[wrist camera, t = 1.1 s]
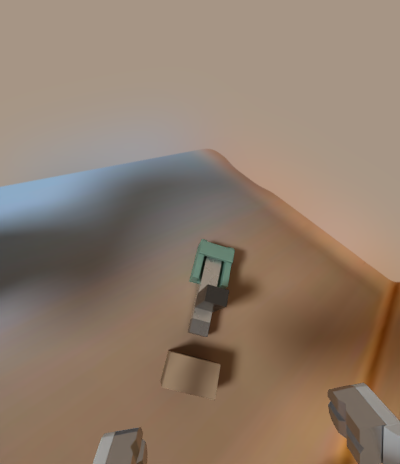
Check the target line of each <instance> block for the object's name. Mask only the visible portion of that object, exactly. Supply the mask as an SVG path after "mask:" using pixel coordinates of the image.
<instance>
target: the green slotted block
mask: <svg viewBox="0 0 400 464" xmlns="http://www.w3.org/2000/svg"><path fill="white" fill-rule="evenodd" d="M234 252H235V250H234V249H233V248H230V247H228V248H227V247H223V246H220V245H217V244H213V243H210V242H207V240H204V239H202V240H201V242H200V244H199V246H198V250H197V253H196V257H195V261H194V265H193V269H192V273H191V277H190V282H193V283H197V284H199V281H200V277H201V272H202V268H203V264H204V259H205V256H208V257H211V258H214V259H218V260H221V261H222V263H221V268H220V274H219V279H218V284H217V287H219V288H223V289H225V288H226V287H228V282H229V276H230V270H231V264H232V263H233V258H234Z"/></svg>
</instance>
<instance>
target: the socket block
mask: <svg viewBox="0 0 400 464" xmlns="http://www.w3.org/2000/svg"><path fill="white" fill-rule="evenodd" d="M220 366H221V365H220V364H218V363H215V362H213V361H209V360H205V359H201V358H197V357H193V356H189V355H185V354H182V353H178V352H174V351H170V350H168V354H167V358H166V361H165V365H164V369H163V373H162V377H161V381H160V382H161V386H162V388H166V389H170V390H174V391H178V392H182V393H187V394H191V395H195V396H199V397H203V398H207V399H211V400H215V398H216V391H217V385H218V378H219V372H220Z"/></svg>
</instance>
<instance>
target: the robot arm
mask: <svg viewBox="0 0 400 464" xmlns="http://www.w3.org/2000/svg"><path fill="white" fill-rule="evenodd" d="M328 397H329V399H330V400H331V402H330V403H329V405H328V407H329V413H330V416H331V419H332V421H333V423H334V425H335V427H336V429H337V430H338V432H339V433H340V434H341V435H342V436H344V437H345V438H347V447H348V448H349V450H350V452H351V453H352V455H353V456H354V458H355V460H356V461H357V463H358V464H381V463H383V464H400V421H399V420H398V419H397V418H396V416H395V415H394V414H393V413H392V412H391V411H390V410H389V409H388V408H387V407H386V406H385V404H384V403H383V402H382V401H381V400H380V399H379V398H378V397H377V396H376V395H375V394H374V392H373V391H372V390H371V389H370V388H369V387H368V386H367V385H366V384H364V383H359V384H354V385H347V386H343V387H338V388H334V389H329V390H328ZM142 436H143V432H142V429H141V427H139V428H133V429H128V430H122V431H115V432H110V433H105V434H104V435H103V437H102V438H101V441H100V444H99V447H98V450H97V453H96V456H95V458H94V461H93V464H147V445H146V442H145V441H144V440H143V439H142Z"/></svg>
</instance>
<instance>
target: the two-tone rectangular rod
mask: <svg viewBox="0 0 400 464" xmlns="http://www.w3.org/2000/svg"><path fill="white" fill-rule="evenodd" d="M221 263H222V261H221V260H218V259H214V258H211V257H208V256H205V259H204V264H203V268H202V272H201V277H200V281H199V285H198V290H197V294H196V298H195V302H194V307H193V311H192V315H191V320H190V324H189V328H188V333H192V334H196V335H199V336H203V337H207V336H208V331H209V326H210V321H211V315H212V312H215V311H217V310H220V309H222V308H225V307H226V306H227V300H228V294H229V290H226V289H223V288H219V287H217V284H218V279H219V274H220V268H221Z"/></svg>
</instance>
